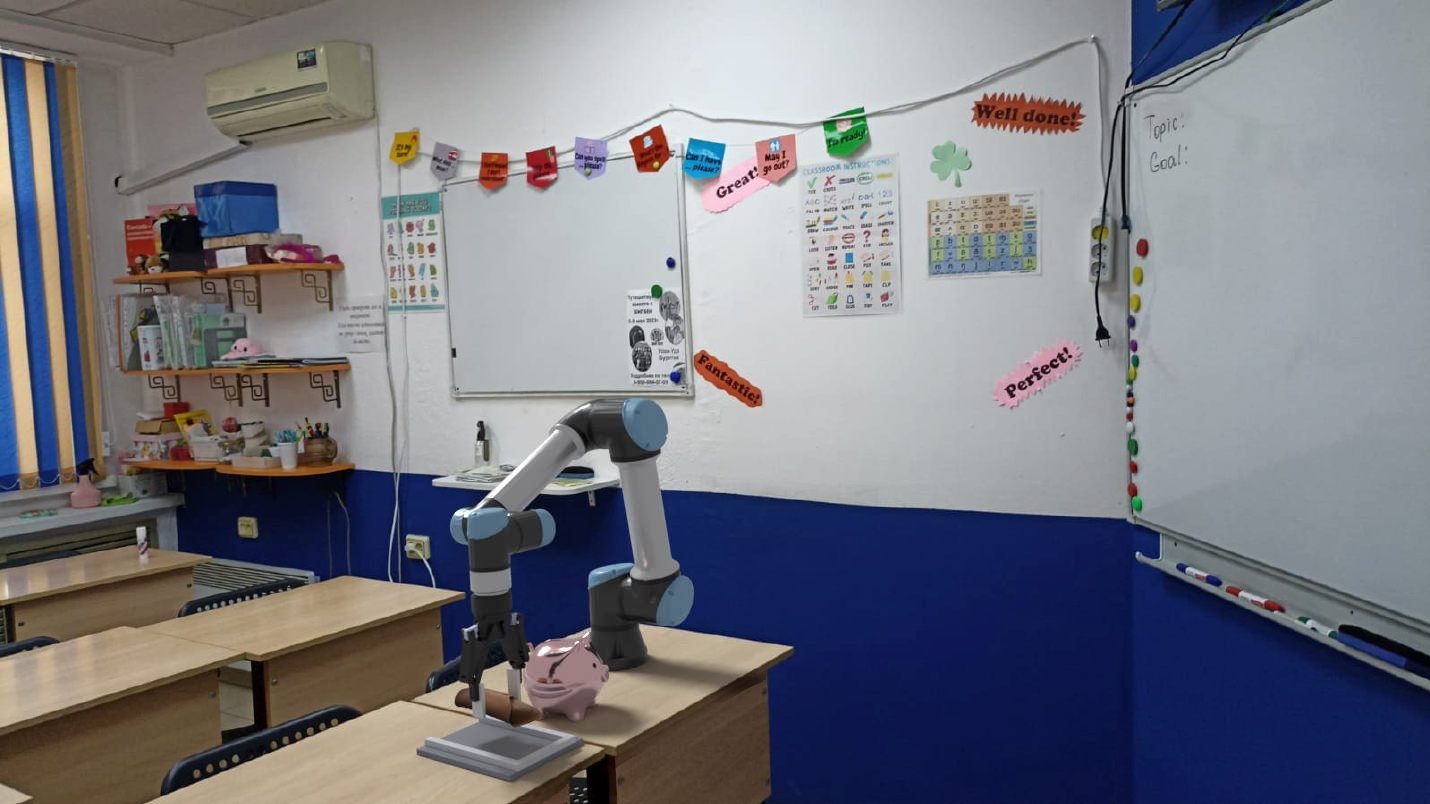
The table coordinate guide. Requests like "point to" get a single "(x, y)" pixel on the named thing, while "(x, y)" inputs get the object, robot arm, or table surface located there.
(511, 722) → the sunglasses case
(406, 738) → the table surface
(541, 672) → the piggy bank
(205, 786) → the table surface
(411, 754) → the table surface
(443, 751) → the rail cradle
